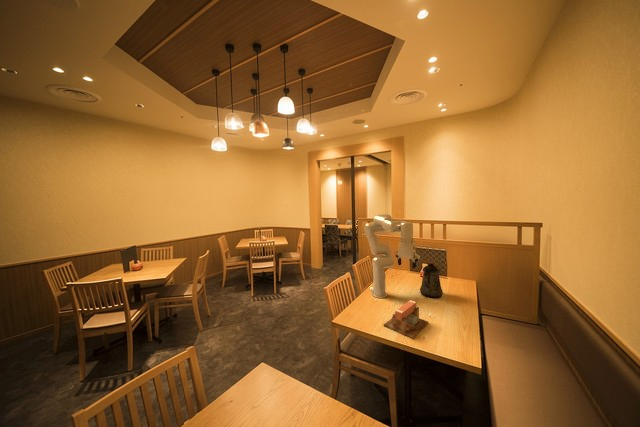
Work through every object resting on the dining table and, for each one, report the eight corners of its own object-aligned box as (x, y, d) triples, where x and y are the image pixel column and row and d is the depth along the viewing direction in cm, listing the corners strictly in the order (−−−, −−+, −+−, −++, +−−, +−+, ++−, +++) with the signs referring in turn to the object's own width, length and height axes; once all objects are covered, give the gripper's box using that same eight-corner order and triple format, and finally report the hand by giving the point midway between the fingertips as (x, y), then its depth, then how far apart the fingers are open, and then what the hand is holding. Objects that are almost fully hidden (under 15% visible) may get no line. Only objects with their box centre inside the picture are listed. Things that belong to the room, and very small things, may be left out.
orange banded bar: (395, 318, 131) (395, 310, 130) (410, 306, 144) (410, 299, 144) (401, 321, 128) (401, 313, 127) (416, 308, 141) (416, 301, 141)
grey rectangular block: (395, 320, 140) (395, 311, 139) (399, 317, 142) (399, 308, 142) (413, 328, 130) (413, 319, 130) (417, 325, 133) (417, 316, 133)
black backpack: (440, 291, 183) (441, 262, 181) (445, 302, 165) (445, 269, 163) (419, 289, 189) (419, 260, 187) (421, 299, 170) (421, 267, 169)
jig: (383, 326, 135) (383, 312, 135) (400, 313, 150) (400, 300, 150) (412, 339, 122) (412, 323, 122) (428, 323, 137) (428, 309, 137)
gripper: (422, 241, 141) (422, 267, 142) (397, 238, 153) (397, 262, 154) (417, 243, 136) (417, 270, 137) (391, 240, 148) (391, 265, 149)
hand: (406, 266), depth 145 cm, fingers open, 9 cm apart
